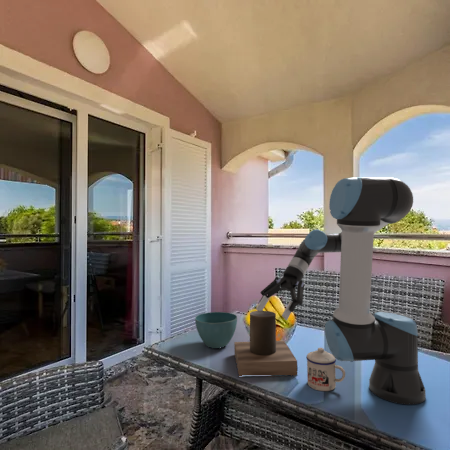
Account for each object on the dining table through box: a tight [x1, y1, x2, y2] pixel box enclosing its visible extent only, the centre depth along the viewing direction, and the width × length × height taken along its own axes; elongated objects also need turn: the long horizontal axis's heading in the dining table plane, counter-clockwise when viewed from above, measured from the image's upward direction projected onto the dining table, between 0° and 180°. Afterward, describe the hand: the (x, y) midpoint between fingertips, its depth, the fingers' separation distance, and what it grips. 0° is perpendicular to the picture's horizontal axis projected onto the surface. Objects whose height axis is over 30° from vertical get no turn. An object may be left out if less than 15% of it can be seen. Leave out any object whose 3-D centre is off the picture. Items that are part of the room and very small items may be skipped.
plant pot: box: [194, 311, 238, 349], centre depth 141 cm, size 18×18×12 cm
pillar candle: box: [249, 309, 277, 355], centre depth 121 cm, size 10×10×15 cm
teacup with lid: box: [306, 347, 346, 392], centre depth 103 cm, size 12×9×12 cm
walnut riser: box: [233, 340, 298, 377], centre depth 120 cm, size 20×20×5 cm
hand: (270, 314), depth 124 cm, fingers open, 13 cm apart
